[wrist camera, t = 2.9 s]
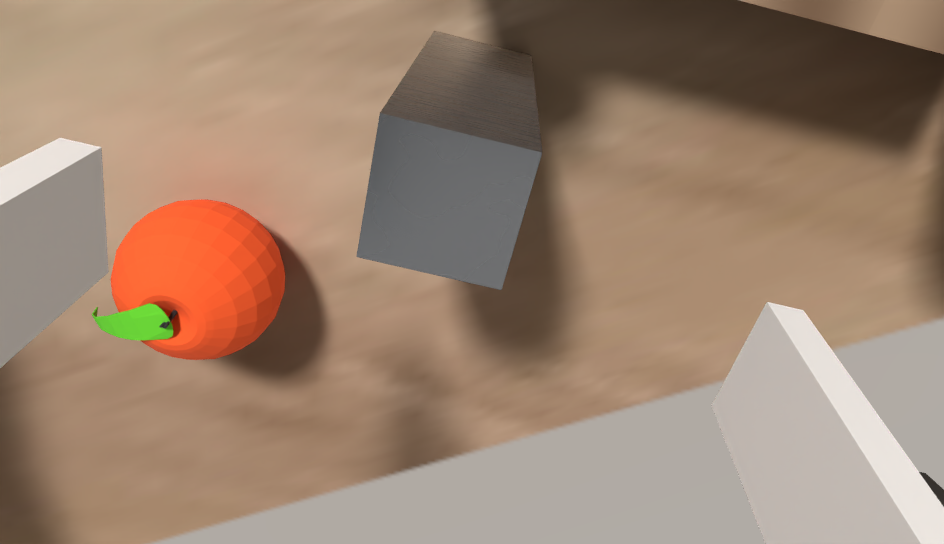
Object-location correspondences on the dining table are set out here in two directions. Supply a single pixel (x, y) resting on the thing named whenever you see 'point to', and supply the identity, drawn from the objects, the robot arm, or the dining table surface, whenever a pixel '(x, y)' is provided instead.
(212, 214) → the clementine
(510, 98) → the square bit
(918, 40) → the socket block
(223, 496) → the dining table surface
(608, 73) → the dining table surface
